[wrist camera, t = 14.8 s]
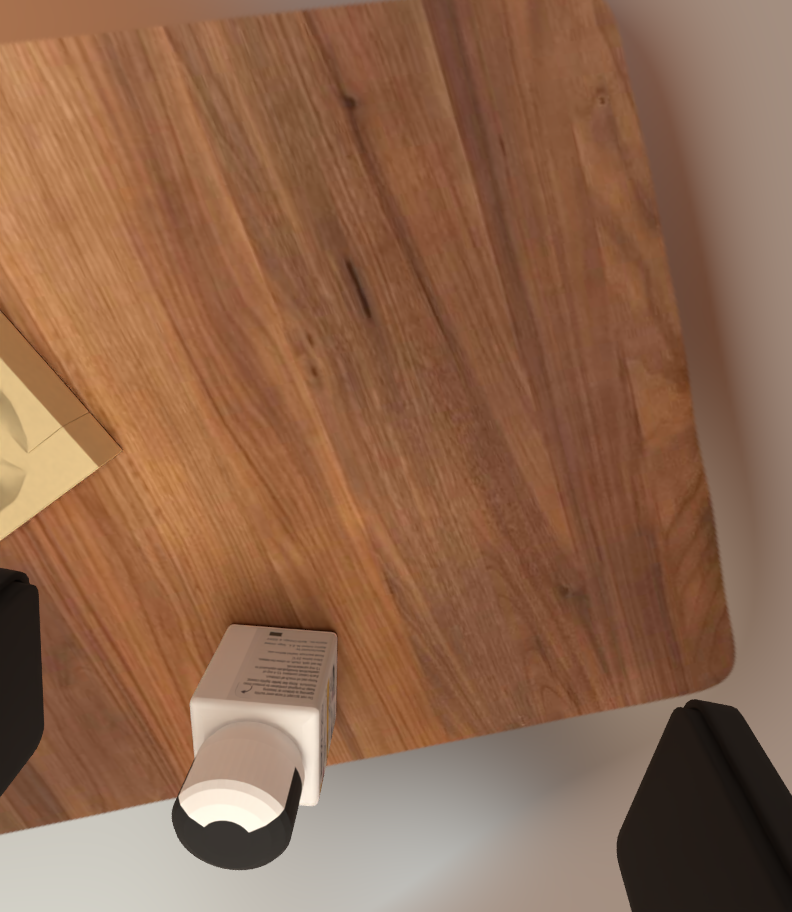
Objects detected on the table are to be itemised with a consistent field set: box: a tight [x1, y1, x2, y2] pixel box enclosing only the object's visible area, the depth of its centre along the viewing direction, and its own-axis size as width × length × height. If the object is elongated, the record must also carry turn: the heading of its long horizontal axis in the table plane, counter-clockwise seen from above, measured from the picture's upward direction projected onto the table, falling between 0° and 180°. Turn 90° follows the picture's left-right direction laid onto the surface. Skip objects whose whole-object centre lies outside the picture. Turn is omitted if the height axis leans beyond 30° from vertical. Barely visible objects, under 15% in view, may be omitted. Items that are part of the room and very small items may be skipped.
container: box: [172, 624, 337, 870], centre depth 38 cm, size 8×8×13 cm
